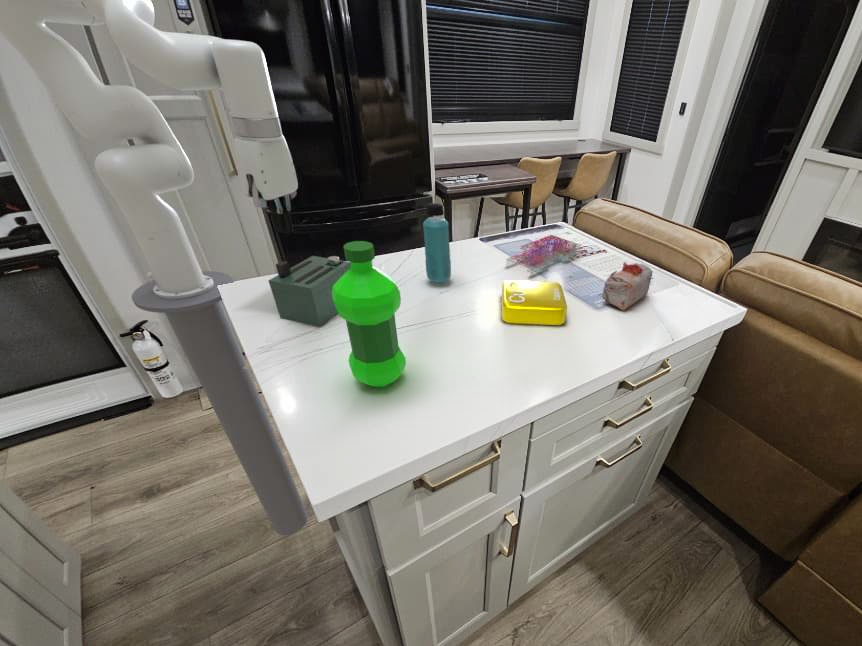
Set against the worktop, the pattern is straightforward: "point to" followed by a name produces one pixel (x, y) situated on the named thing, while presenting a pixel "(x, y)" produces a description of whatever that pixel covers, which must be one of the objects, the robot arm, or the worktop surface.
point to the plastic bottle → (369, 317)
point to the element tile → (533, 303)
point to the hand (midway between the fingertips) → (284, 231)
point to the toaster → (308, 291)
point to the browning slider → (283, 268)
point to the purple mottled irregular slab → (544, 262)
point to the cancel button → (334, 261)
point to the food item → (627, 285)
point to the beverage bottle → (437, 244)
